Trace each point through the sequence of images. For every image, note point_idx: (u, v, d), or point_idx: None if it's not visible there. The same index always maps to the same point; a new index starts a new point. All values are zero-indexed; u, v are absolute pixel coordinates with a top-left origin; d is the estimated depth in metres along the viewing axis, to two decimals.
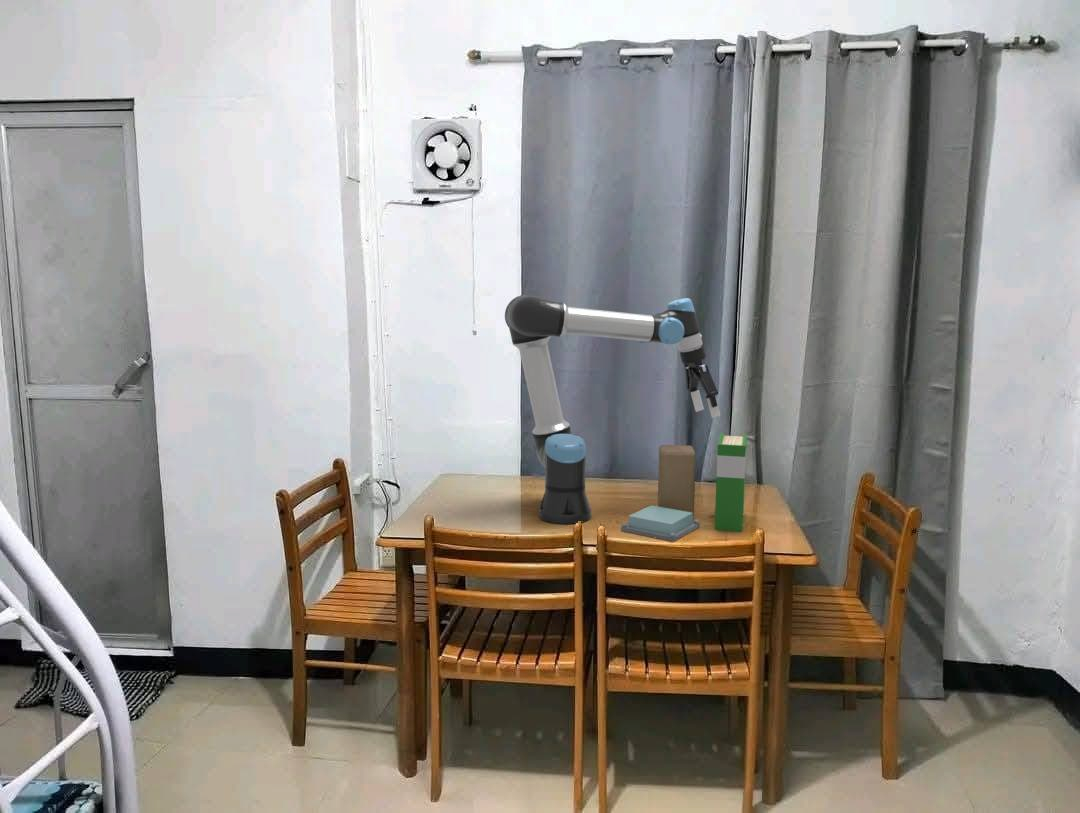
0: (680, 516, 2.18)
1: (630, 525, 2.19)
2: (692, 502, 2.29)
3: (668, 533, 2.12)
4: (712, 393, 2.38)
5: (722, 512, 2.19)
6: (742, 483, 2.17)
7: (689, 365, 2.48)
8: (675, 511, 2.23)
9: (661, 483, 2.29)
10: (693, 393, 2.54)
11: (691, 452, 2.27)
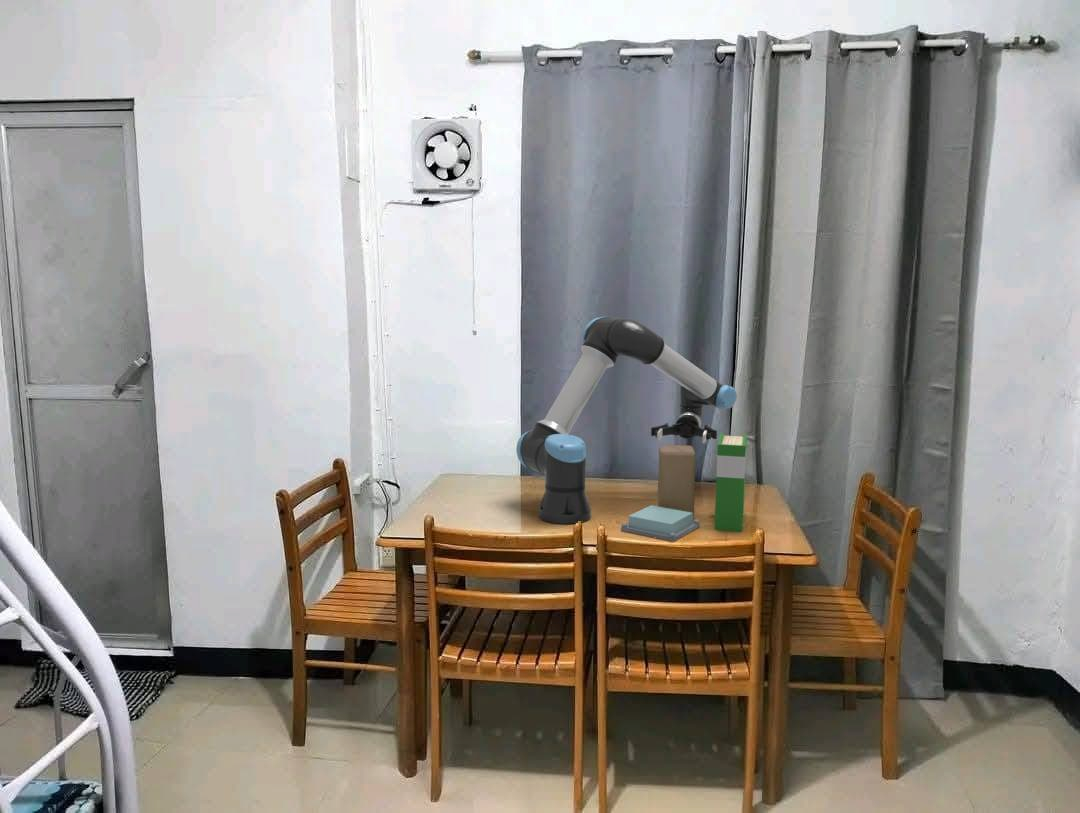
0: (680, 516, 2.18)
1: (630, 525, 2.19)
2: (692, 502, 2.29)
3: (668, 533, 2.12)
4: None
5: (722, 512, 2.19)
6: (742, 483, 2.17)
7: None
8: (675, 511, 2.23)
9: (661, 483, 2.29)
10: (662, 430, 2.48)
11: (691, 452, 2.27)
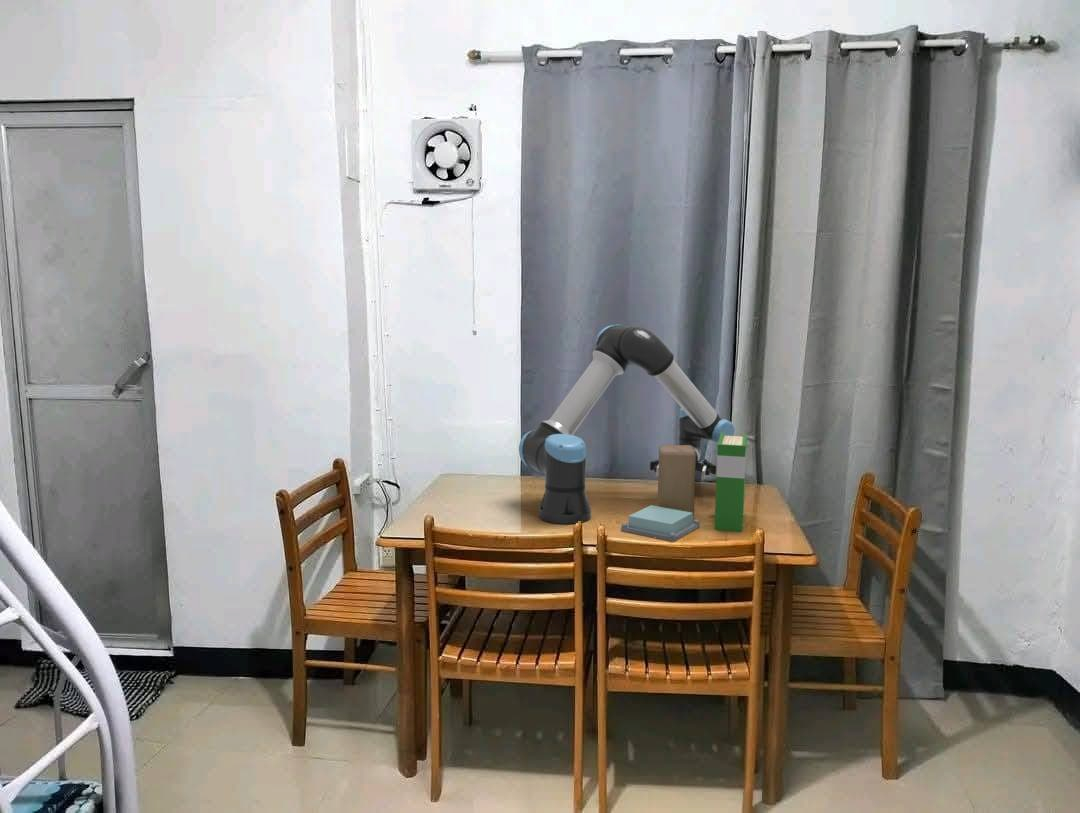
0: (680, 516, 2.18)
1: (630, 525, 2.19)
2: (692, 502, 2.29)
3: (668, 533, 2.12)
4: None
5: (722, 512, 2.19)
6: (742, 483, 2.17)
7: None
8: (675, 511, 2.23)
9: (661, 483, 2.29)
10: None
11: (691, 452, 2.27)
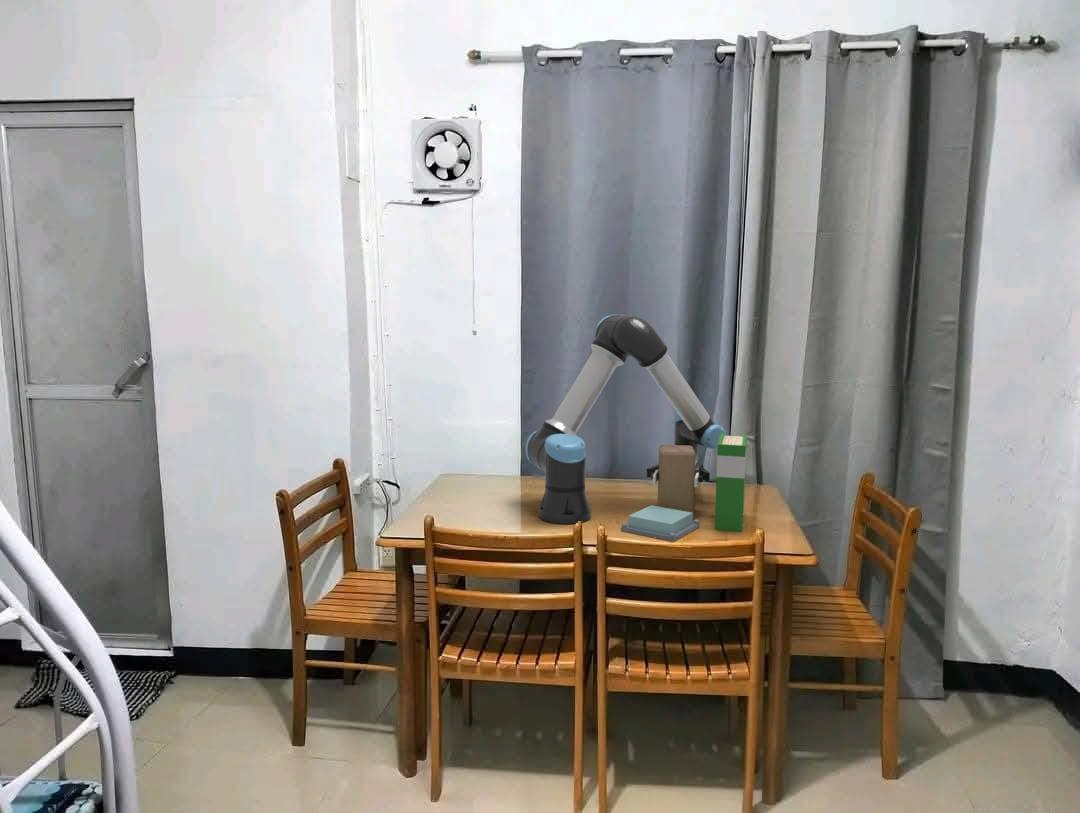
0: (680, 516, 2.18)
1: (630, 525, 2.19)
2: (692, 502, 2.29)
3: (668, 533, 2.12)
4: None
5: (722, 512, 2.19)
6: (742, 483, 2.17)
7: None
8: (675, 511, 2.23)
9: (661, 483, 2.29)
10: (658, 472, 2.37)
11: (691, 452, 2.27)
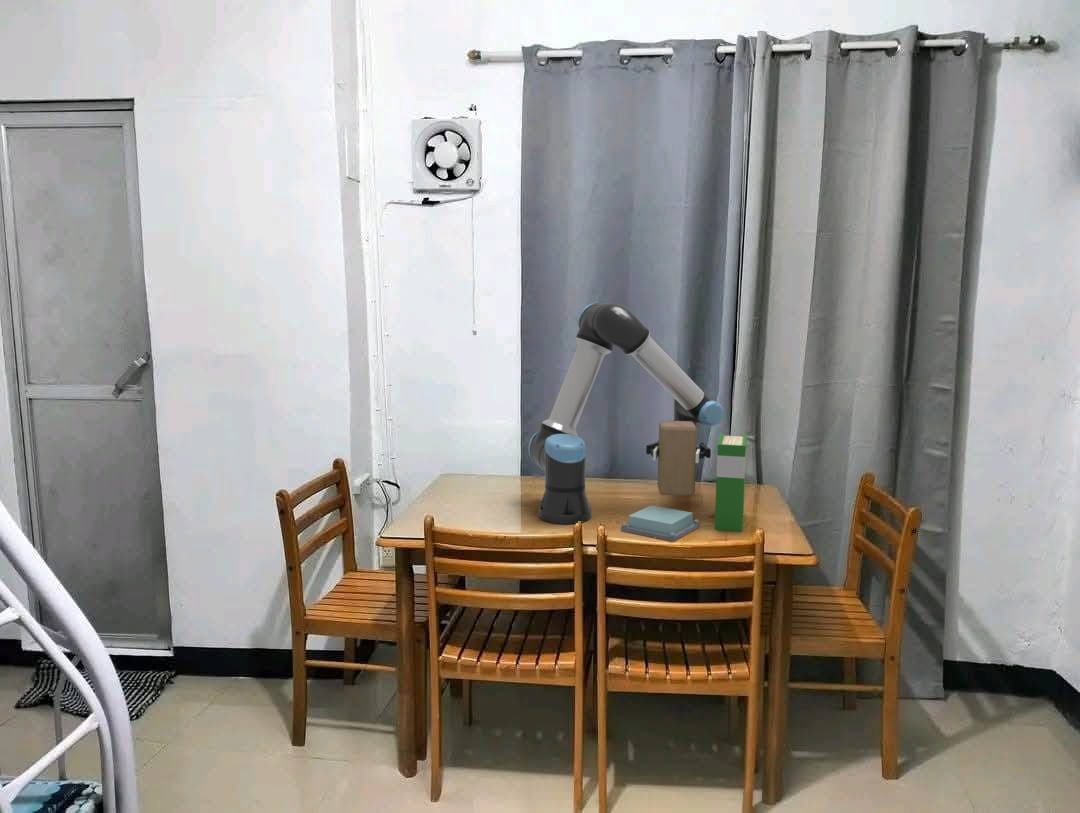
0: (680, 516, 2.18)
1: (630, 525, 2.19)
2: (693, 478, 2.24)
3: (668, 533, 2.12)
4: None
5: (722, 512, 2.19)
6: (742, 483, 2.17)
7: None
8: (675, 511, 2.23)
9: (661, 459, 2.24)
10: None
11: (692, 427, 2.22)
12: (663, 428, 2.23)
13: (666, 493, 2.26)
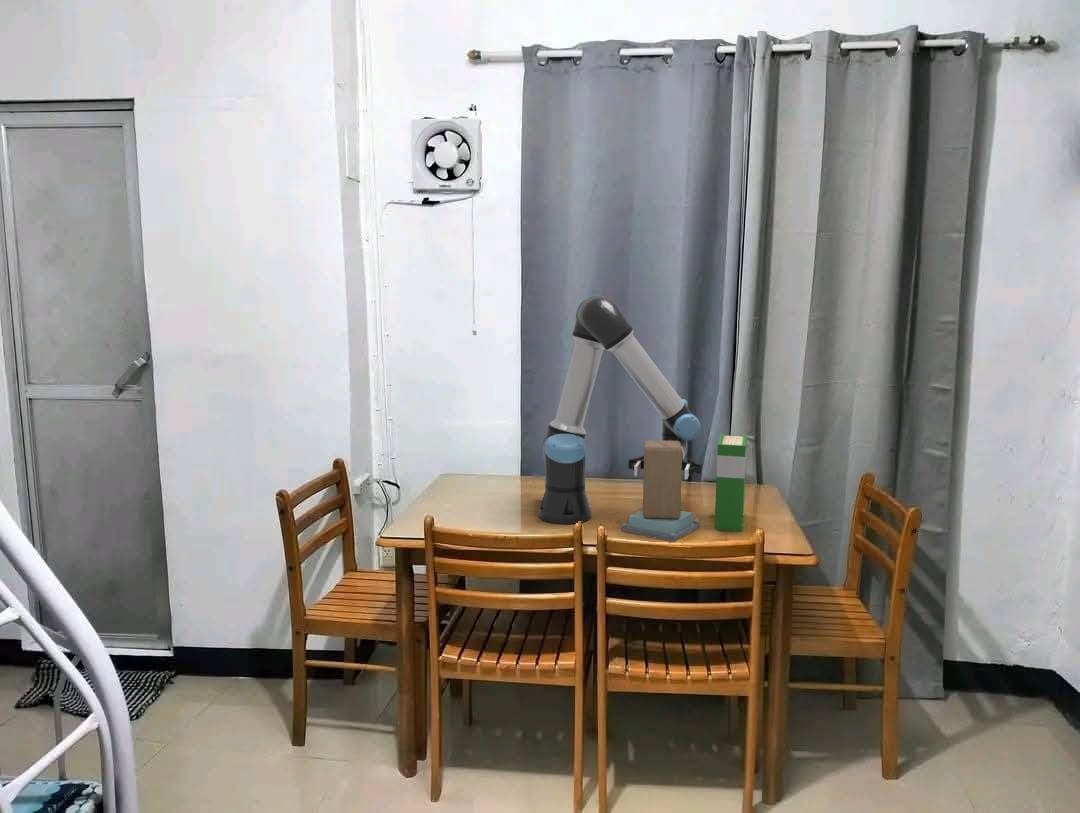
0: (680, 516, 2.18)
1: (630, 525, 2.19)
2: (678, 501, 2.14)
3: (668, 533, 2.12)
4: None
5: (722, 512, 2.19)
6: (742, 483, 2.17)
7: None
8: None
9: (645, 481, 2.15)
10: (640, 463, 2.23)
11: (677, 448, 2.13)
12: (647, 449, 2.13)
13: (650, 516, 2.16)
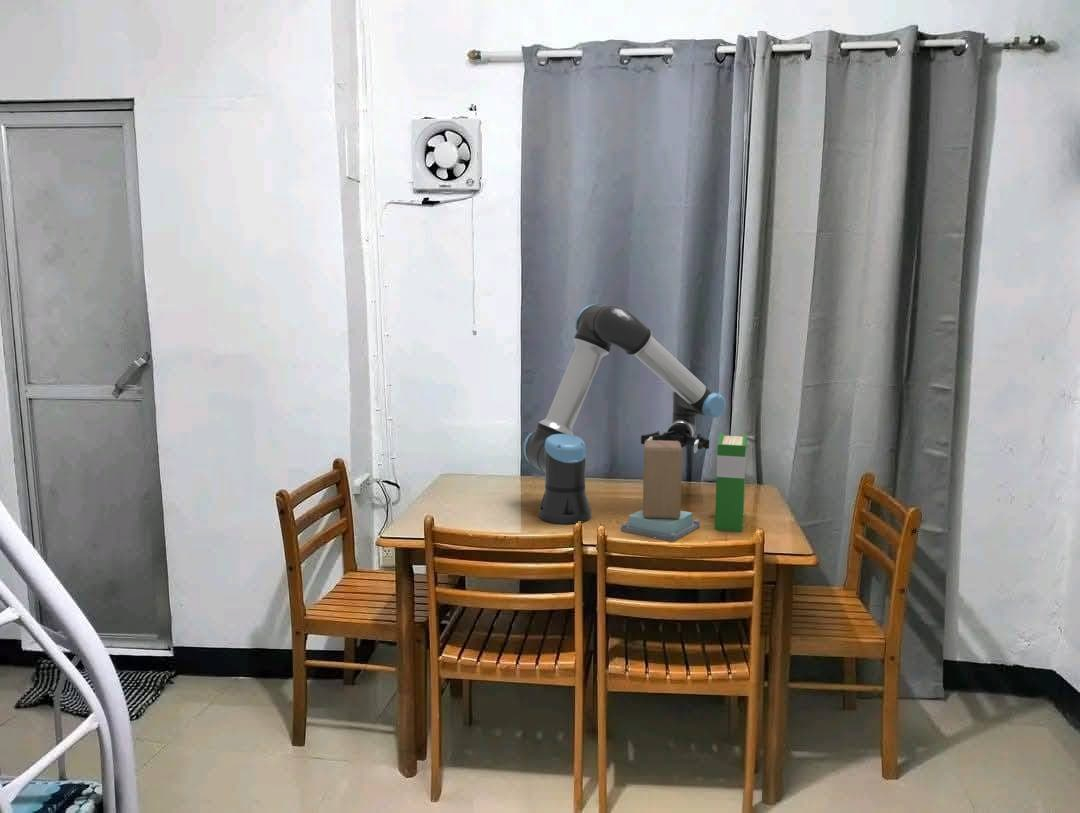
0: (680, 516, 2.18)
1: (630, 525, 2.19)
2: (678, 501, 2.14)
3: (668, 533, 2.12)
4: None
5: (722, 512, 2.19)
6: (742, 483, 2.17)
7: None
8: None
9: (645, 481, 2.15)
10: (652, 439, 2.38)
11: (677, 448, 2.13)
12: (647, 449, 2.13)
13: (650, 516, 2.16)
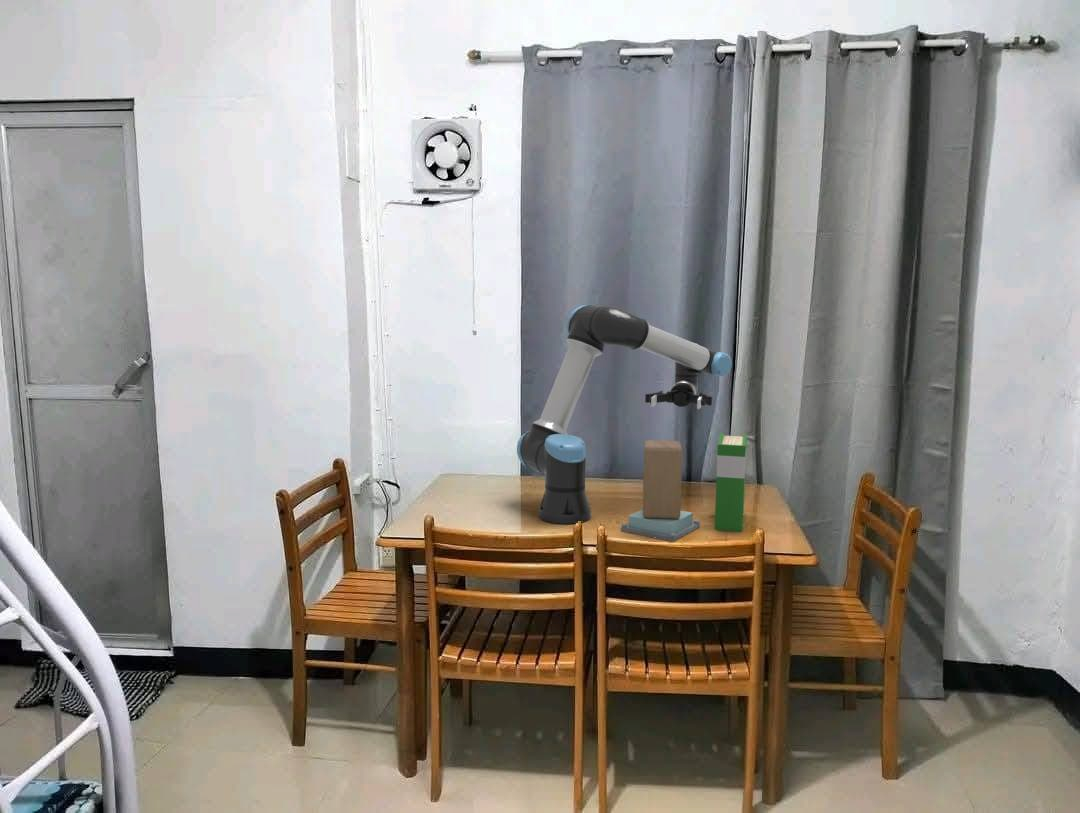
0: (680, 516, 2.18)
1: (630, 525, 2.19)
2: (678, 501, 2.14)
3: (668, 533, 2.12)
4: None
5: (722, 512, 2.19)
6: (742, 483, 2.17)
7: None
8: None
9: (645, 481, 2.15)
10: (656, 397, 2.44)
11: (677, 448, 2.13)
12: (647, 449, 2.13)
13: (650, 516, 2.16)
